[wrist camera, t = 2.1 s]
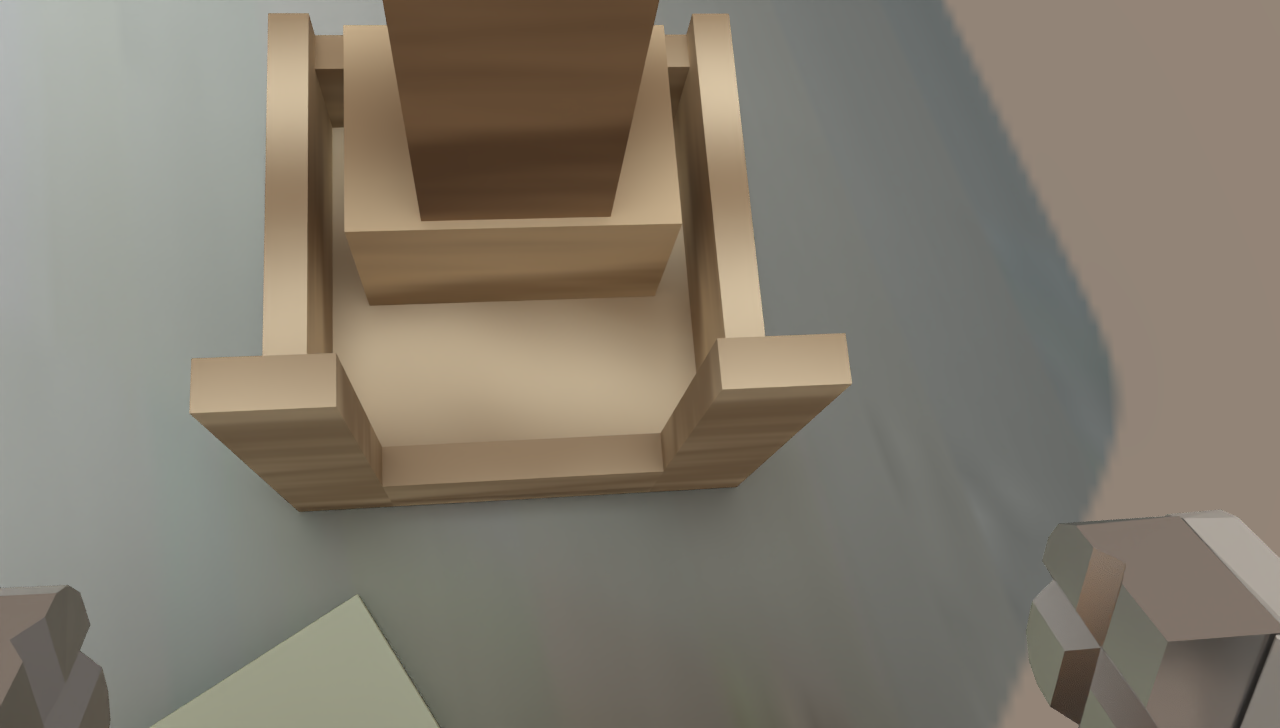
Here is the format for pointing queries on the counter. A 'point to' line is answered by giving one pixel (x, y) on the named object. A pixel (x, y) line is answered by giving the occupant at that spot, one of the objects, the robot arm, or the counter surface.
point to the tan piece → (506, 305)
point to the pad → (315, 683)
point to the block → (518, 102)
